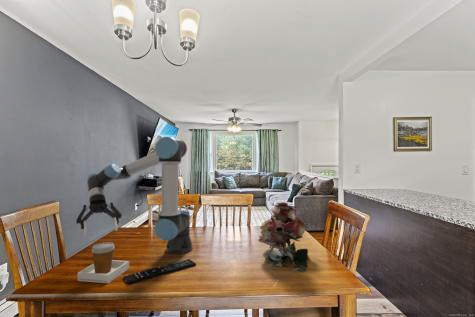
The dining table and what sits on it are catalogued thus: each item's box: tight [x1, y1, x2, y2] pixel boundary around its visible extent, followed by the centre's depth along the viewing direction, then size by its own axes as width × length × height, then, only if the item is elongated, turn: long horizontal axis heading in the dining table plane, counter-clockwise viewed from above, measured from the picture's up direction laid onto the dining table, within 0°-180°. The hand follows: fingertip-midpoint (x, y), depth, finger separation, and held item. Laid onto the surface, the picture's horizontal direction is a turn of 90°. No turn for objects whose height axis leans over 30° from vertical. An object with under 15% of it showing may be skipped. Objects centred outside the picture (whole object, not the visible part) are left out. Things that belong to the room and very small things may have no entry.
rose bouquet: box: [258, 202, 309, 273], centre depth 131 cm, size 26×29×30 cm
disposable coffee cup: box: [91, 242, 116, 274], centre depth 114 cm, size 10×10×12 cm
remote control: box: [123, 258, 197, 286], centre depth 117 cm, size 8×32×2 cm, turn 127°
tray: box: [77, 259, 130, 284], centre depth 114 cm, size 15×15×4 cm
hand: (101, 231), depth 122 cm, fingers open, 13 cm apart
